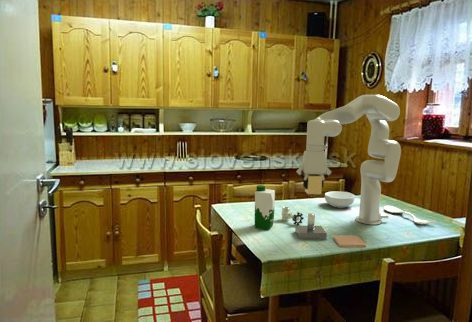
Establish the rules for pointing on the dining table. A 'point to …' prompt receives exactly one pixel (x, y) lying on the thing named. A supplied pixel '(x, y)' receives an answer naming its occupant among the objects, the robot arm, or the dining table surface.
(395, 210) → the spoon
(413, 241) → the dining table surface
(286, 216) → the valve
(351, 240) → the tile
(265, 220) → the milk carton
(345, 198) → the cereal bowl
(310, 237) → the grey base with post
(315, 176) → the sleeve
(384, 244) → the dining table surface
